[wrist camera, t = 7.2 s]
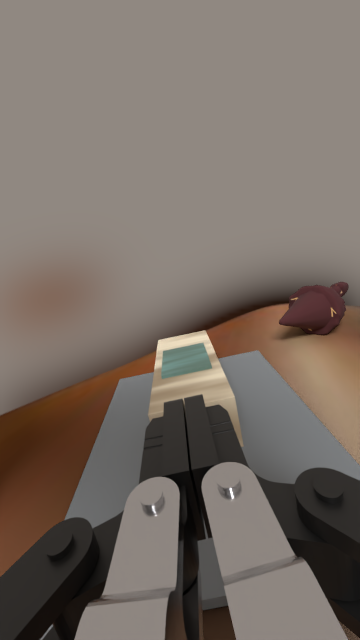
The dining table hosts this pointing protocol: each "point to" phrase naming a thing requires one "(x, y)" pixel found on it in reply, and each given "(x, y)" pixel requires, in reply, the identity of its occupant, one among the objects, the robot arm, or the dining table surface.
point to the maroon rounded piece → (316, 308)
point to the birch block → (190, 376)
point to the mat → (259, 447)
